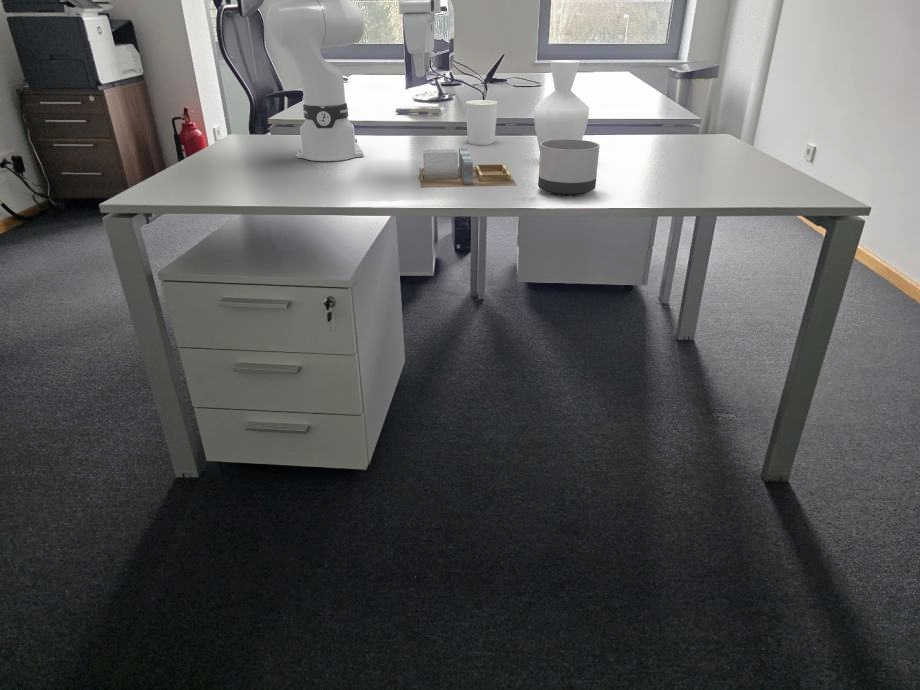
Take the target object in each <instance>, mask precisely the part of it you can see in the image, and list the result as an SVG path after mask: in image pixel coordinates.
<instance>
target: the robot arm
mask: <svg viewBox="0 0 920 690" xmlns="http://www.w3.org/2000/svg"><path fill="white" fill-rule="evenodd" d="M441 9H442V8H441V0H398V11H399V14H400V15H402V21H403V30H404V38H405V45H406V49H407V53H408V54H410V55H411V54H412V55H413V64H414V69H415V76H416V77H417V78H423V77H424V76H425V75H429V74H430V62H431V61H430V59H431V52H434V49H435V37H434V36H435V35H434V23H435V22H436V16H435V15H436V14H441V13H442V12H441ZM265 17H266V18H265V19H266V20H265V21H266V22H265V23H266V24H265V25H266V29H267V31H268V35H269V36H270V38H271V39H272V41H273V42H274V43H275V44H276V45H277V46H279V47H280V48H282V49H283V50H284V51H285V52H286V53H287V54H288V55H289V57H290V59H292V61H293V62H294V64H295V66H296V69H297V71H298V74H299V78H300V82H301V88H302V95H303V105H302V112H303V118H304V122H303V123H301V125H300V126H299V131H300V143H301V151H299V152H296V158H298V159H305V160H309V161H313V162H314V161H315V162H336V161H337V162H338V161H344V160H349V159H354V158H359V157H364V155H365V154H364V151H363V150H362V148H361V147H360V146H359V144H358V140H357V137H356V136H355V134H356V133H355V127H354V125H353V123H352V122H351V121H350V120H349V118H348V117H349V109H348V104H347V102H346V96H345V85H344V82H345V81H344V75H343V73H342V72H341V70H340V68H338V66H336V65H334V64H333V63H331V62H330V61H327V60H325V59H324V57H323V56H322V53H321V48H338V47H339V48H342V47H346V46H351V45H354V44H358V43H359V42H360V41H361V40H362V38H363V37H364V34H365V30H366V29H365V27H366V26H365V25H366V24H365V22H366V21H365V18H364V17H365V16H364V15H363V12H362V10H361V9H360V7H359V5H357V4H356V3H355V2H353V1H352V0H282V1H277V2H274V3H272V4H271V5H270V6H269V8H268V11H267V14H266V16H265Z"/></svg>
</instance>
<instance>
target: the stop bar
mask: <svg viewBox="0 0 920 690" xmlns="http://www.w3.org/2000/svg"><path fill="white" fill-rule="evenodd" d="M422 156H423V158H422V159H423V168H424V179H447V178H458V167H459V151H458V149H457V148H449V149H448V148H446V149H444V148H441V149H438V148H436V149H423V150H422Z"/></svg>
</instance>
